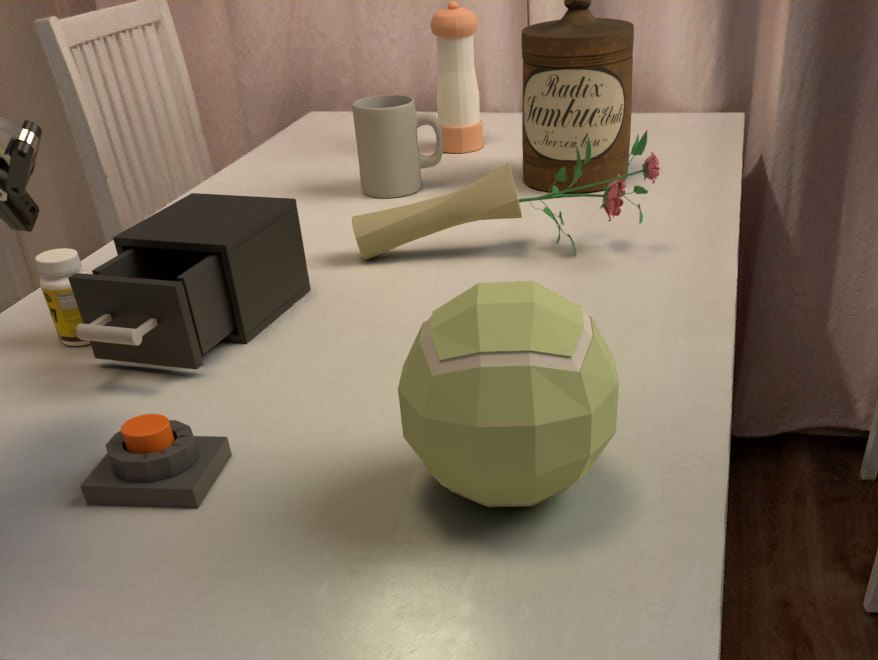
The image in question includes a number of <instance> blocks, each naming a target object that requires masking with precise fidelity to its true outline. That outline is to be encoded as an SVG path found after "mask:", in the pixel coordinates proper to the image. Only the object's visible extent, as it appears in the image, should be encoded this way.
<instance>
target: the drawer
mask: <svg viewBox="0 0 878 660" xmlns="http://www.w3.org/2000/svg"><path fill="white" fill-rule="evenodd" d="M68 279H69V282H70V285H71V288H72V291H73V294H74V297H75V300H76V303H77V306H78V309H79V312H80V315H81V318H82V321H83V324H79V325H78V326H77V328H76V334H77V336H78V338H79V339H81V340H89V341H90V344H89V345H90V347H91V350H92V354H93V356H94V359H98V360H109V361H115V362H117V361H118V362H126V363H133V364H134V363H135V364H143V365H152V366H161V367H171V368H179V369H187V370H188V369H189V370H199V369H200V368H201V367H202V366H203V365H204V362H203V357H202V355H205V354H206V353H207V352H209V351H210V350H212V348H214V347H215V346H217V344H219V343H220V342H222V341H221V340H222V339H224V338H225V337H226V336H227V335H229V334H230V333H231V332H232V331H234V330H235V329H236V328H237V324H236V320H235V315H234V311H233V306H232V302H231V297H230V293H229V289H228V284H227V280H226V275H225V271H224V266H223V262H222V257H221V253H213V252H199V251H186V250H172V249H158V248H145V247H131V248H129V249H128V250H126V251H124V252H123V253H121V254H119V255H118V254H117V255H116V256H114V257H112V258H110V259H109V260H107V261H105V262H104V263H102V264H100V265H99V266H97V267H96V268H94V269H92V270H91V273H88V274H82V273H75V274H73V275H72V276H70V277H68Z"/></svg>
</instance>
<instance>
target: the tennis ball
mask: <svg viewBox="0 0 878 660" xmlns="http://www.w3.org/2000/svg"><path fill="white" fill-rule="evenodd" d="M619 385H620V382H619V377H618V370H617V363H616V359H615V356H614V355H613V353H612V352H611V350H610V347H609V346H608V344H607V342H606V340H605V339H604V337H603V335H602V333H601V331H600V330H599V328H598V326H597V324H596V321H595V320H594V318H593V317H592V316H590V315H588V314H587V313H586V312H584V311H583V306H581V305H579V304H577V303H576V302H573V301H572V300H570V299H568V298H566V297H565V296H562V295H560V294H559V293H557V292H555V291H553V290H551V289H549V288H548V287H546V286H544V285H542V284H540V283H538V282H536V280H523V281H522V280H521V281H520V280H519V281H518V280H517V281H491V282H490V281H489V282H478V283H476V284H474V285H473V286H471V287H470V288H467V289H466V290H465V291H463V292H462V293H460V294H458V295H457V296H455V297H453V298H452V299H450V300H448V301H447V302H445V303H444V304H442V305H441V306H439V307H437V308H436V309H434V310H433V311H432V312H431V316H430V317H429V318H428V319H427V320H425V321H422V324H421V326H420V328H419V330H418V332H417V335H416V336H415V339H414V341H413V343H412V346H411V347H410V350H409V352H408V355H407V356H406V358H405V360H404V362H403V364H402V369H401V374H400V377H399V381H398V386H397V393H398V394H397V395H398V403H399V412H400V419H401V420H400V421H401V428H402V437H403V439H404V440H405V441H406V442H407V443H408V445H409V446H410V448H411V449H412V450H413V452H414V453H415V454H416V455H417V457H418V458H419V459H420V460H421V462H422V463H423V464H424V465H425V467H426V468H427V470H428V471H429V472H430V473H431V475H432V476H433V477H434V478H435V479H436V481H437V482H438V483H439V484H440V485H441V486H443V487H445V488H447V489H448V491H450V492H452V493H453V494H456V495H459V496H461V497H463V498H466V499H468V500H470V501H472V502H475V503H477V504H479V505H482V506H484V507H487V508H496V507H497V508H501V507H502V508H504V507H505V508H506V507H507V508H508V507H533V506H535V505H537V504H539V503H542V502H544V501H546V500H549V499H550V498H552V497H554V496H557V495H559V494H561V493H563V492H565V491H568V490H569V489H571V488H572V487H573V486H574V485H575V484H577V483H578V482H579V481H580V480H581V479H582V478H584V477H585V475H586V474H587V473H588V472H590V470H591V469H592V468H593V466H594V464H595V463H596V462H597V460H598V458H599V457H600V455H601V454H602V453H603V452H604V450H605V448H606V447H607V446H608V444H609V443H610V442H611V440H612V439H613V437H614V436H615V434H616V433H617V420H618V404H619V387H620V386H619Z"/></svg>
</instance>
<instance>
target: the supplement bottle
mask: <svg viewBox="0 0 878 660" xmlns="http://www.w3.org/2000/svg"><path fill="white" fill-rule="evenodd" d="M34 261H35V264H36V266H37V271H38V272H39V275H41V277H39V278H40V279H39V286H40V289H41V292H42V295H43V297H44V300H45V303H46V305H47V308H48V311H49V314H50V316H51V319H52V322H53V325H54V327H55V330H56V333H57V336H58V339H59V341H60V342H61V343H62V344H63V345H65V346H69V347H83V346H87V345H88V346H89V345H91V344H90V341H89V340H81V339H79V338H78V336H77V334H76V328H77V326H78V325H79V324H83V321H82V318H81V315H80V312H79V309H78V306H77V303H76V300H75V297H74V294H73V291H72V288H71V285H70V282H69V279H68V277H70V276H72V275H73V274H75V273H82V274H89V273H88V272H87V270H85V269H83V268H82V267H83V266H82V262H81V259H80V256H79V253H78V251H77V250H76V249H73V248H66V247H65V248H63V247H62V248H54V249H48V250H45V251H42V252H40V253H38V254H37V255H36V256H35V258H34Z"/></svg>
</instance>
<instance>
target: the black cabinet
mask: <svg viewBox="0 0 878 660" xmlns="http://www.w3.org/2000/svg"><path fill="white" fill-rule="evenodd" d="M300 222H301V221H300V216H299V210H298V205H297V199H296V198H294V197H293V198H291V197H275V196H274V197H273V196H272V197H270V196H254V195H253V196H252V195H238V194H237V195H234V194H216V193H198V192H197V193H196V192H191V193H190V194H188V195H186V196H184V197H183V198H180V199H179V200H177V201H175V202H173V203H172V204H170V205H168V206H166V207H165V208H162V209H161V210H159V211H157V212H155V213H154V214H152V215H150V216H148V217H146V218H145V219H143V220H141V221H139V222H137V223H136V224H134V225H132V226H130V227H129V228H127V229H125V230H123V231H122V232H120V233H118V234H116V235H114V236H113V237H112V240H113V243H114V247H115V251H116V254H117V255H119V254H121V253H123V252H124V251H126V250H128V249H129V248H131V247H145V248H158V249H172V250H186V251H199V252H213V253H221V257H222V262H223V266H224V271H225V275H226V280H227V284H228V289H229V293H230V297H231V302H232V306H233V311H234V315H235V320H236V324H237V328H236V329H235V330H234V331H232V332H231V333H230V334H229V335H227V336H226V337H225V338H224V339H222V340H221V341H220V342H230V343H238V344H239V343H240V344H248V343H250V341H252V340H253V339H254V338H255V337H257V336H258V335H259V334H260V333H262V332H263V330H265V329H266V328H268V327H269V325H271V324H272V323H273V322H275V321H276V320H277V319H278V318H279V317H281V316H282V315H283V314H284V313H285V312H286V311H287V310H289V309H290V308H291V307H292V306H294V305H295V304H296V303H297V302H298V301H300V300H301V299H302V298H303V297H304V296H305V295H306V294H307V293H309V292H310V291H311V290H312V289H311V283H310V277H309V272H308V271H309V270H308V265H307V259H306V253H305V246H304V240H303V235H302V228H301V223H300Z"/></svg>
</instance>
